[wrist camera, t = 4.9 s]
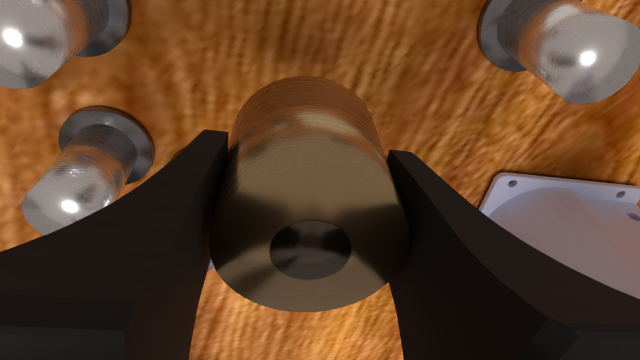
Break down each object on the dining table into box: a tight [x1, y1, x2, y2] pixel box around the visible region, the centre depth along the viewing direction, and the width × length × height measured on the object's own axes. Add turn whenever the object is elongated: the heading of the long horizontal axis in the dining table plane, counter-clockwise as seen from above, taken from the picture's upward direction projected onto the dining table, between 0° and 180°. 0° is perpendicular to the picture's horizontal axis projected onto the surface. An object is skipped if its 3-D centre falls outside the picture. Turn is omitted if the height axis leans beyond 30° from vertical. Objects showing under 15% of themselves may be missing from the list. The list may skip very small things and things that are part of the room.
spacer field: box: [0, 0, 640, 271], centre depth 17 cm, size 24×20×6 cm
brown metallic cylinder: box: [208, 76, 410, 312], centre depth 11 cm, size 4×4×5 cm
